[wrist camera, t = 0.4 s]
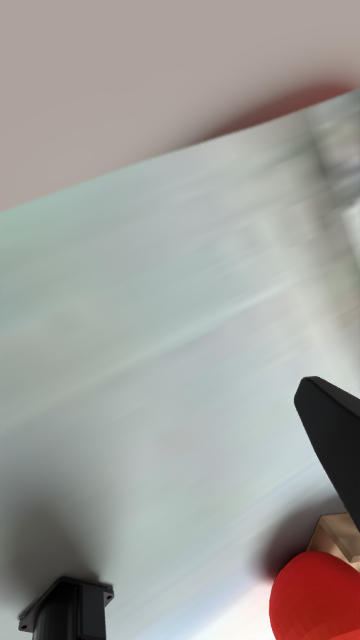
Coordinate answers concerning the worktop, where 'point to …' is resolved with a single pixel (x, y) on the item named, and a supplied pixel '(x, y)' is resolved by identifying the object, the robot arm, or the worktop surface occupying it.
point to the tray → (337, 538)
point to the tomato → (316, 599)
